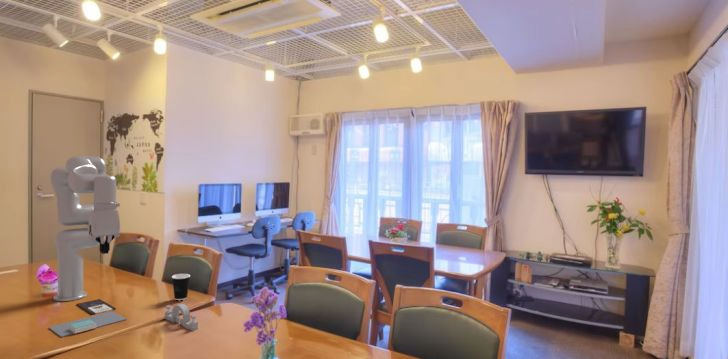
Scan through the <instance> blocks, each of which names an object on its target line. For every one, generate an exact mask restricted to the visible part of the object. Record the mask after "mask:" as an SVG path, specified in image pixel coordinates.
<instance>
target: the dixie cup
mask: <svg viewBox="0 0 728 359" xmlns="http://www.w3.org/2000/svg"><path fill="white" fill-rule="evenodd" d="M171 278H172V285H173V298H174V299H175V301H176V300H183V301H186V300H187V297H188V294H189V293H188V292H189V286H190V284H189V283H190V278H191V274H189V273H177V274H173V275H172V276H171ZM185 299H186V300H185Z"/></svg>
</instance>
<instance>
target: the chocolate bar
mask: <svg viewBox="0 0 728 359" xmlns="http://www.w3.org/2000/svg"><path fill="white" fill-rule="evenodd" d="M76 306H77V307H79V308H80V309H81V310H83V311H85V312H87V313H88V314H89V315H91V316H95V315H99V314H104V313H108V312H112V311H114V310H115V311H116V307H115V306H113V305H111V304H109V303H107V302H106V301H105V300H102V299H100V298H98V299H94V300H89V301H83V302H79V303H76Z"/></svg>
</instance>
